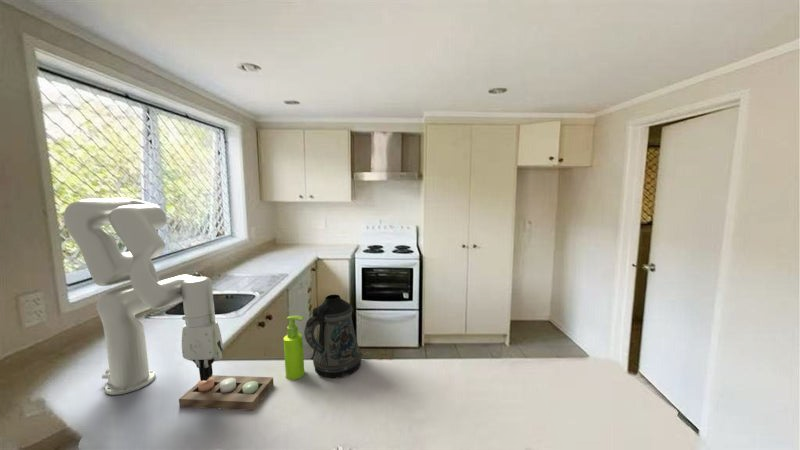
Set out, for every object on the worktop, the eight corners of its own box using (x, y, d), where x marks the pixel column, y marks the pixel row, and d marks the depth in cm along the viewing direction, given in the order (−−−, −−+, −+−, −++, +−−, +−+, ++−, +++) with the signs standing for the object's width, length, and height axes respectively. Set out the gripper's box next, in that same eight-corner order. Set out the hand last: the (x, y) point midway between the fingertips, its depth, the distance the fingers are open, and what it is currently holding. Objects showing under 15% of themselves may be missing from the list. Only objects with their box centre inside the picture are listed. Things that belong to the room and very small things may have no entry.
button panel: (179, 407, 93) (178, 398, 93) (208, 382, 105) (207, 375, 105) (253, 410, 91) (252, 402, 91) (273, 384, 103) (273, 377, 102)
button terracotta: (195, 393, 96) (194, 385, 96) (204, 384, 101) (204, 376, 100) (208, 393, 96) (207, 385, 96) (217, 385, 100) (217, 377, 100)
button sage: (240, 397, 95) (239, 389, 95) (248, 388, 99) (247, 380, 99) (253, 397, 95) (253, 389, 94) (261, 389, 99) (260, 381, 99)
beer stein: (367, 355, 120) (365, 289, 117) (350, 387, 101) (347, 308, 98) (325, 352, 123) (321, 287, 120) (300, 382, 104) (296, 306, 101)
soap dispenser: (301, 380, 105) (298, 320, 102) (282, 378, 106) (278, 319, 104) (310, 370, 110) (307, 313, 108) (291, 368, 112) (288, 312, 110)
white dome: (217, 393, 96) (216, 385, 95) (226, 385, 100) (225, 377, 100) (230, 394, 95) (230, 386, 95) (239, 385, 100) (238, 378, 99)
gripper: (166, 324, 93) (173, 385, 95) (215, 324, 91) (222, 386, 93) (186, 314, 100) (192, 370, 102) (232, 314, 99) (237, 371, 101)
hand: (206, 378), depth 98 cm, fingers closed
